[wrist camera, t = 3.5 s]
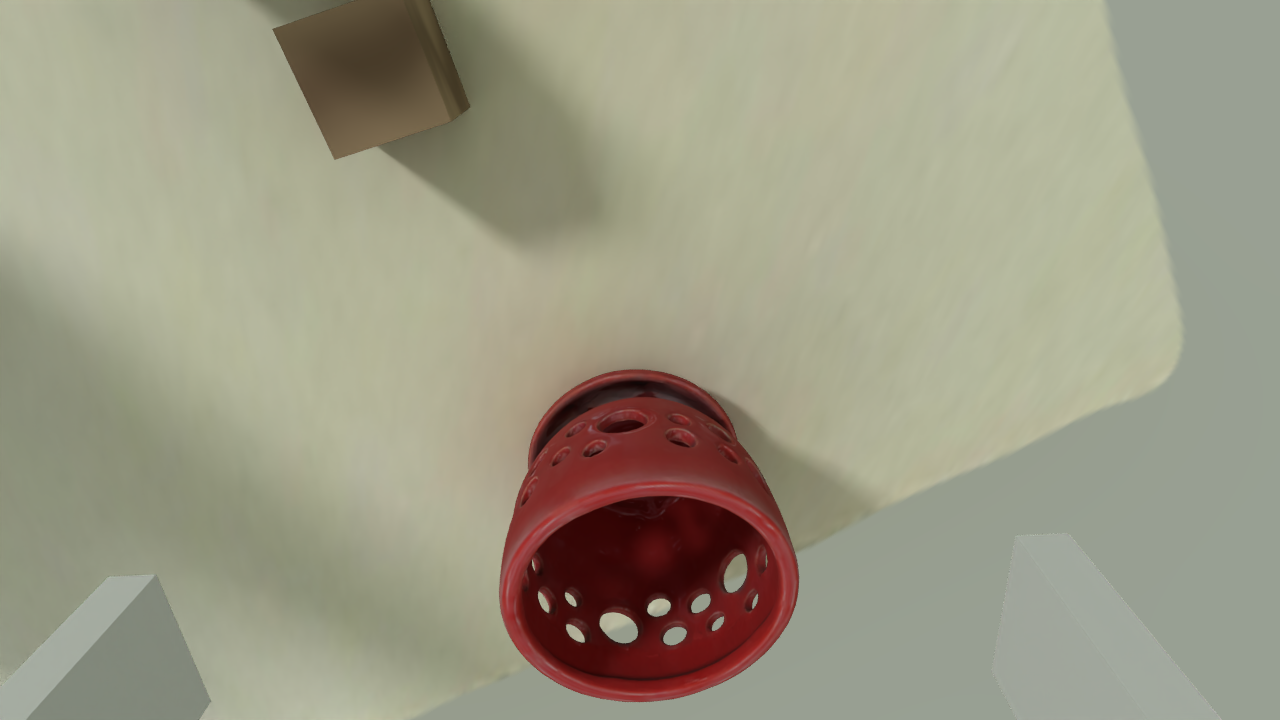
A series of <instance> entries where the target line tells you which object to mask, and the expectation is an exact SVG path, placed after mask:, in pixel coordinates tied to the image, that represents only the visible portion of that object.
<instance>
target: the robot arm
mask: <svg viewBox="0 0 1280 720" xmlns="http://www.w3.org/2000/svg"><path fill="white" fill-rule="evenodd" d="M991 672H992V674H993V676H994V678H995V679H996V681H997V683H998V685H999V687H1000V689H1001V690H1002V693H1003V695H1004V697H1005V698H1006V700H1007V702H1008V704H1009V706H1010V708H1011V710H1012V712H1013V713H1014V715H1015V717H1016V719H1017V720H1222V719H1221V718H1220V717H1219V715H1218V714H1217V713H1216V712H1215V710H1214V709H1213V708H1212V707H1211V706H1210V704H1209V703H1208V702H1207V701H1206V700H1205V698H1204V697H1203V696H1202V695H1201V693H1200V692H1199V691H1198V690H1197V689H1196V687H1195V686H1194V685H1193V684H1192V683H1191V681H1190V680H1189V679H1188V678H1187V677H1186V675H1185V674H1184V673H1183V672H1182V670H1181V669H1180V668H1179V667H1178V666H1177V664H1176V663H1175V662H1174V661H1173V660H1172V658H1171V657H1170V656H1169V655H1168V653H1167V652H1166V651H1165V650H1164V649H1163V647H1162V646H1161V645H1160V644H1159V643H1158V641H1157V640H1156V639H1155V638H1154V636H1153V635H1152V634H1151V633H1150V632H1149V631H1148V629H1147V628H1146V627H1145V626H1144V624H1143V623H1142V622H1141V621H1140V620H1139V618H1138V617H1137V616H1136V615H1135V613H1134V612H1133V611H1132V610H1131V609H1130V607H1129V606H1128V605H1127V604H1126V602H1125V601H1124V600H1123V599H1122V598H1121V596H1120V595H1119V594H1118V593H1117V592H1116V590H1115V589H1114V588H1113V587H1112V586H1111V584H1110V583H1109V582H1108V581H1107V580H1106V578H1105V577H1104V576H1103V575H1102V573H1101V572H1100V571H1099V570H1098V568H1097V567H1096V566H1095V565H1094V564H1093V563H1092V561H1091V560H1090V559H1089V558H1088V556H1087V555H1086V554H1085V553H1084V552H1083V550H1082V549H1081V548H1080V547H1079V545H1078V544H1077V543H1076V542H1075V541H1074V539H1073V538H1072V537H1071V536H1070V534H1069V533H1060V534H1038V535H1016V537H1015V543H1014V548H1013V554H1012V559H1011V565H1010V571H1009V576H1008V581H1007V587H1006V592H1005V598H1004V604H1003V609H1002V615H1001V620H1000V626H999V632H998V637H997V642H996V648H995V653H994V659H993V665H992V670H991ZM210 702H211V700H210V698H209V695H208V693H207V691H206V688H205V686H204V684H203V681H202V679H201V677H200V674H199V672H198V670H197V668H196V665H195V663H194V661H193V658H192V656H191V654H190V651H189V649H188V647H187V644H186V642H185V640H184V637H183V635H182V633H181V630H180V628H179V626H178V624H177V621H176V619H175V617H174V614H173V612H172V610H171V607H170V605H169V603H168V600H167V598H166V596H165V593H164V591H163V589H162V586H161V584H160V582H159V579H158V577H157V575H156V574H153V575H131V576H108V578H107V579H106V580H105V581H104V582H103V583H102V584H101V585H100V586H99V587H98V588H97V589H96V590H95V591H94V592H93V593H92V594H91V595H90V596H89V597H88V598H87V599H86V600H85V601H84V602H83V603H82V604H81V605H80V606H79V607H78V608H77V609H76V610H75V611H74V612H73V613H72V614H71V615H70V616H69V617H68V618H67V619H66V620H65V621H64V622H63V623H62V624H61V625H60V626H59V627H58V628H57V629H56V630H55V631H54V633H53V634H52V635H51V636H50V637H49V638H48V639H47V640H46V641H45V642H44V643H43V644H42V645H41V646H40V647H39V648H38V649H37V650H36V651H35V652H34V653H33V654H32V655H31V656H30V657H29V658H28V659H27V660H26V661H25V662H24V663H23V664H22V665H21V666H20V667H19V668H18V669H17V670H16V671H15V672H14V673H13V674H12V675H11V676H10V677H9V678H8V679H7V680H6V681H5V682H4V683H3V684H2V685H1V686H0V720H199V719H200V717H201V716H202V714H203V713H204V711H205V710H206V708H207V707H208V705H209V704H210Z"/></svg>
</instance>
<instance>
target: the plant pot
mask: <svg viewBox="0 0 1280 720" xmlns="http://www.w3.org/2000/svg"><path fill="white" fill-rule="evenodd" d="M528 469H529V471H528V473H527V475H526V477H525V479H524V481H523V483H522V486H521V488H520V490H519V494H518V497H517V500H516V504H515V509H514V514H513V518H512V521H511V524H510V527H509V531H508V534H507V538H506V542H505V547H504V552H503V558H502V566H501V575H500V587H499V598H500V609H501V614H502V618H503V621H504V624H505V627H506V629H507V632H508V634H509V636H510V638H511V639H512V641H513V643H514V644H515V646H516V647H517V649H518V650H519V652H520V653H521V654H522V655H523V656H524V657H525V659H526V660H528V661H529V662H530V663H531V664H532V665H533V666H534V667H535V668H536V669H537V670H539V671H540V672H541V673H542V674H544V675H545V676H547V677H549V678H550V679H552V680H553V681H555V682H556V683H558V684H560V685H562V686H564V687H566V688H568V689H571V690H573V691H575V692H578V693H581V694H585V695H589V696H592V697H596V698H601V699H607V700H614V701H622V702H652V701H661V700H669V699H675V698H680V697H684V696H687V695H691V694H694V693H697V692H700V691H703V690H705V689H708V688H710V687H713V686H716V685H718V684H720V683H722V682H724V681H727V680H729V679H730V678H732V677H734V676H736V675H737V674H739V673H741V672H742V671H744V670H745V669H747V668H748V667H749V666H751V665H752V664H753V663H754V662H756V661H757V660H758V659H759V658H760V657H761V656H763V655H764V654H765V653H766V652H767V651H768V650H769V649H770V648H771V646H772V645H773V644H774V643H775V642H776V640H777V639H778V638H779V637H780V635H781V634H782V632H783V631H784V629H785V628H786V626H787V624H788V623H789V620H790V618H791V616H792V614H793V611H794V608H795V605H796V601H797V596H798V588H799V572H798V564H797V559H796V555H795V552H794V549H793V546H792V543H791V540H790V536H789V533H788V530H787V528H786V525H785V523H784V520H783V517H782V515H781V513H780V510H779V508H778V506H777V504H776V501H775V499H774V497H773V495H772V493H771V491H770V489H769V487H768V485H767V483H766V481H765V479H764V477H763V475H762V474H761V472H760V470H759V468H758V467H757V465H756V464H755V463H754V461H753V460H752V458H751V457H750V455H749V454H748V453H747V451H746V450H745V449H744V448H743V447H742V445H741V444H740V443H739V442H738V441H737V437H736V434H735V430H734V428H733V425H732V423H731V421H730V419H729V417H728V416H727V414H726V413H725V411H724V410H723V409H722V407H721V406H720V405H719V404H718V403H717V401H716V400H714V399H713V398H712V397H711V396H710V395H709V394H708V393H706V392H705V391H704V390H703V389H701V388H699V387H698V386H696V385H695V384H693V383H691V382H689V381H687V380H685V379H683V378H680V377H677V376H674V375H671V374H667V373H663V372H658V371H651V370H621V371H614V372H610V373H605V374H602V375H599V376H597V377H594V378H592V379H590V380H587V381H585V382H583V383H581V384H580V385H578V386H576V387H575V388H573V389H571V390H570V391H568V392H567V393H566V394H564V395H563V396H562V397H561V398H560V399H559V400H557V401H556V402H555V403H554V404H553V405H552V406H551V408H550V409H549V410H548V411H547V412H546V414H545V415H544V416H543V418H542V419H541V421H540V422H539V424H538V426H537V428H536V430H535V432H534V435H533V437H532V440H531V444H530V449H529V456H528ZM739 554H744V555H745V557H746V560H747V568H748V570H747V576H746V579H745V581H744V583H743V585H742V586H741V587H740V588H739V589H738V590H737V591H735V592H733V593H728V592H727V591H726V589H725V586H724V574H725V571H726V569H727V566H728V565H729V564H730V562H731V561H732V559H733V558H734V557H736V556H737V555H739ZM766 555H767V560H768V563H767V567H766ZM532 560H533V562H534V567H535V571H534V569H533V566H532ZM538 591H539V592H541V593H542V594H543V596H544V597H545V598H546V600H547V603H548V605H549V613H547V612H545V611H544V610H543V609H542V607H541V605H540V603H539V600H538ZM565 592H567V593H569V594H571V595H572V596H573V597H574V599H575V601H576V603H577V606H576V607H574V606H572V605H570V604H569V603H568V601H567V600H566V598H565ZM757 593H758V602H757V604H756V606H755V607H754V609H752V603H753V599H754V598H755V596H756V594H757ZM702 594H709V595H710V598H711V602H710V605H709V606H708V607H707V608H706V609H705V610H703V611H702V612H699V613H692V610H691V605H692V602H693V601H694V600H695V599H696V598H697V597H698V596H700V595H702ZM656 599H666V600H668V601H669V602H670V603H671V608H670V610H669V611H668V613H667V614H665V615H663V616H659V617H654V616H651V615H650V614H648V612H647V608H648V605H649V603H651V602H652V601H653V600H656ZM610 612H615V613H621V614H623V615H626V616H627V617H629V618H630V619H632V620H633V621H634V623H635V624H636V626H637V629H638V636H637V638H636V639H635V640H634V641H632V642H631V643H626V644H625V643H618V642H615V641H613V640H612V639H610V638H609V637H608V636H607V635H606V634H605V633H604V632H603V631H602V629H601V628H600V624H599V623H600V618H601V616H602V615H603V614H605V613H610ZM723 616H724V622H723V625H722V626H721V627H720V628H719V629H718V630H715V631H712V625H713V623H714V622H715V621H716V620H717V619H718V618H720V617H723ZM566 624H571V625H573V626H575V627H577V628H578V629H579V630H580V631H581V632H582V634H583V635H584V638H585V642H584V643H581V642H578V641H576V640H574V639H573V638H571V637H570V636H569V634H568V632H567V630H566ZM673 627H682V628H684V629H686V631H687V634H686V637H685V639H684V640H683V641H682V642H680V643H678V644H676V645H671V646H670V645H667V644H665V643H664V642H663V637H664V635H665V633H666V632H667V631H668V630H669V629H671V628H673Z"/></svg>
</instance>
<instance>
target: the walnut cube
mask: <svg viewBox="0 0 1280 720" xmlns="http://www.w3.org/2000/svg"><path fill="white" fill-rule="evenodd" d="M273 31H274V33H275V36H276V38H277V40H278V42H279V44H280V46H281V48H282V50H283V52H284V54H285V57H286V59H287V61H288V63H289V65H290V67H291V69H292V71H293V73H294V75H295V77H296V80H297V82H298V84H299V86H300V88H301V90H302V92H303V94H304V96H305V98H306V101H307V103H308V105H309V107H310V109H311V111H312V113H313V115H314V117H315V119H316V121H317V124H318V126H319V128H320V130H321V132H322V134H323V136H324V138H325V140H326V142H327V145H328V147H329V149H330V151H331V153H332V155H333V157H334V159H335V160H336V159H339V158H342V157H345V156H348V155H351V154H354V153H357V152H360V151H363V150H366V149H369V148H372V147H375V146H378V145H381V144H384V143H387V142H390V141H394V140H397V139H400V138H403V137H406V136H409V135H412V134H415V133H418V132H421V131H424V130H427V129H430V128H433V127H436V126H439V125H442V124H445V123H448V122H451V121H453V120H454V119H455V118H457V117H458V116H459V115H460V114H462V113H463V112H464V111H466V110H467V109H468V108H470V104H469V102H468V99H467V97H466V94H465V91H464V89H463V86H462V84H461V81H460V78H459V76H458V73H457V71H456V68H455V65H454V63H453V60H452V58H451V55H450V52H449V50H448V47H447V45H446V42H445V39H444V37H443V34H442V32H441V29H440V26H439V24H438V21H437V19H436V16H435V13H434V11H433V8H432V6H431V3H430V0H355V1H352V2H349V3H347V4H344V5H341V6H338V7H335V8H332V9H329V10H326V11H323V12H321V13H318V14H315V15H312V16H309V17H306V18H303V19H300V20H297V21H294V22H292V23H289V24H286V25H283V26H280V27H277V28H274V29H273Z"/></svg>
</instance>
